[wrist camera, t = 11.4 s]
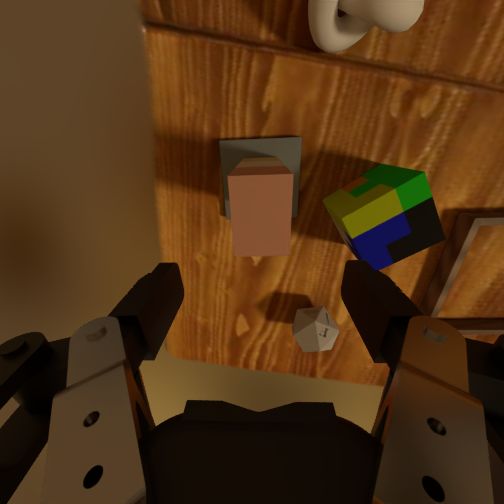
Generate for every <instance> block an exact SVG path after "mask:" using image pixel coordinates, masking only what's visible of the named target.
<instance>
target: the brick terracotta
mask: <svg viewBox="0 0 504 504" xmlns="http://www.w3.org/2000/svg"><path fill="white" fill-rule="evenodd" d="M293 176H294V174H293V173H292V172H291V171H290V170H289V169H288V168H287V167H286V166H261V167H236V168H235V169H234V170H233V171H232V172H231V173H230V174H229V175H228V187H229V199H230V211H231V223H232V235H233V247H234V257H241V256H290V236H291V216H292V196H293Z"/></svg>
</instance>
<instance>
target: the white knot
mask: <svg viewBox="0 0 504 504" xmlns="http://www.w3.org/2000/svg"><path fill="white" fill-rule="evenodd" d="M423 5H424V0H309V1H308V20H309V27H310V32H311V35H312V38H313V41H314V42H315V44H316V45H317V47H319V48H320V49H322V50H324V51H325V52H328V53H336V52H340V51H343V50H345V49H347V48H349V47H350V46H352V45H353V44H355V43H356V42H357V41H358V40H360V39H361V38H362V37H363V36H364V35H365V34H366V33H367V32H368V31H369V30H370V28H371V27H372V26H373V25H374V26H376V27H378V28H381V29H383V30H386V31H388V32H391V33H400V32H403V31H407V30H408V29H409V28H410V27H411V26H412V25H413V24H414V23H415V22H416V21H417V20H418V18H419V16H420V14H421V13H422V11H423ZM338 9H340V10H342V11H344V12H346V14H345V15H344V16H342V17H340V18H339V17H338Z"/></svg>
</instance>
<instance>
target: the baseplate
mask: <svg viewBox="0 0 504 504" xmlns="http://www.w3.org/2000/svg"><path fill="white" fill-rule="evenodd" d="M301 144H302V137H291V138H269V139H246V140H224V141H219V147H220V157H221V167H222V178H223V188H224V198H225V208H226V218H227V219H231V211H230V199H229V187H228V175H229V174H230V173H231V172H232V171H233V170H234V169H235V168H236V166H237V165H238V164H239V163H240V162H241V161H242V160H243V159H244V158H266V157H278V158H279V159H280V160H281V161H282V162H283V163H284V164H285V166H286V167H287V168H288V169H289V170H290V171H291V172H292V173H293V174H294V176H293V196H292V216H291V218H297V212H298V195H299V178H300V161H301Z"/></svg>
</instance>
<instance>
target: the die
mask: <svg viewBox="0 0 504 504" xmlns="http://www.w3.org/2000/svg"><path fill="white" fill-rule="evenodd" d="M292 331H293V336H294V337H295V339H296V340H297V342H298V344H299V345H300V347H301V348H302V350H303V351H304V352H312V351H323V350H331V349H332V346H333V344H334V342H335V340H336V337H337V335H338V333H339V329H338V328H337V326H336V324H335V323H334V321H333V320H332V318H331V317H330V315H329V313H328V312H327V310H326V309H325V307H324V306H319V307H311V308H302V309H297V312H296V315H295V318H294V322H293V325H292Z"/></svg>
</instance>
